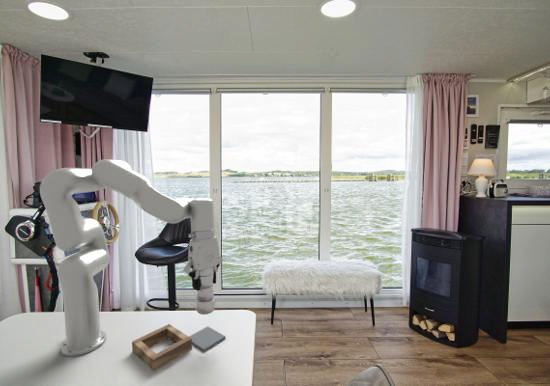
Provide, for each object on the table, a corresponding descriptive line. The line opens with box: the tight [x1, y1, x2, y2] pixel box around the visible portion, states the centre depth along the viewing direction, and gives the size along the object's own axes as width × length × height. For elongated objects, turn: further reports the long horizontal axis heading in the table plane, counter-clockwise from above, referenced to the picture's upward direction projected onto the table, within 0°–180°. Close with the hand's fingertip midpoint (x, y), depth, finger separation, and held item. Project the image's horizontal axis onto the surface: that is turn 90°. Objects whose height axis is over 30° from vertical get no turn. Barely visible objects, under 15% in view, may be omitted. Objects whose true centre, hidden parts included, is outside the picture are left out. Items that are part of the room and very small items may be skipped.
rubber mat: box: [189, 326, 226, 353], centre depth 94 cm, size 10×9×1 cm
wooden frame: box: [131, 323, 193, 372], centre depth 89 cm, size 14×13×4 cm
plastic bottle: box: [195, 267, 216, 315], centre depth 93 cm, size 6×7×20 cm
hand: (204, 285), depth 93 cm, fingers closed on plastic bottle, 6 cm apart
